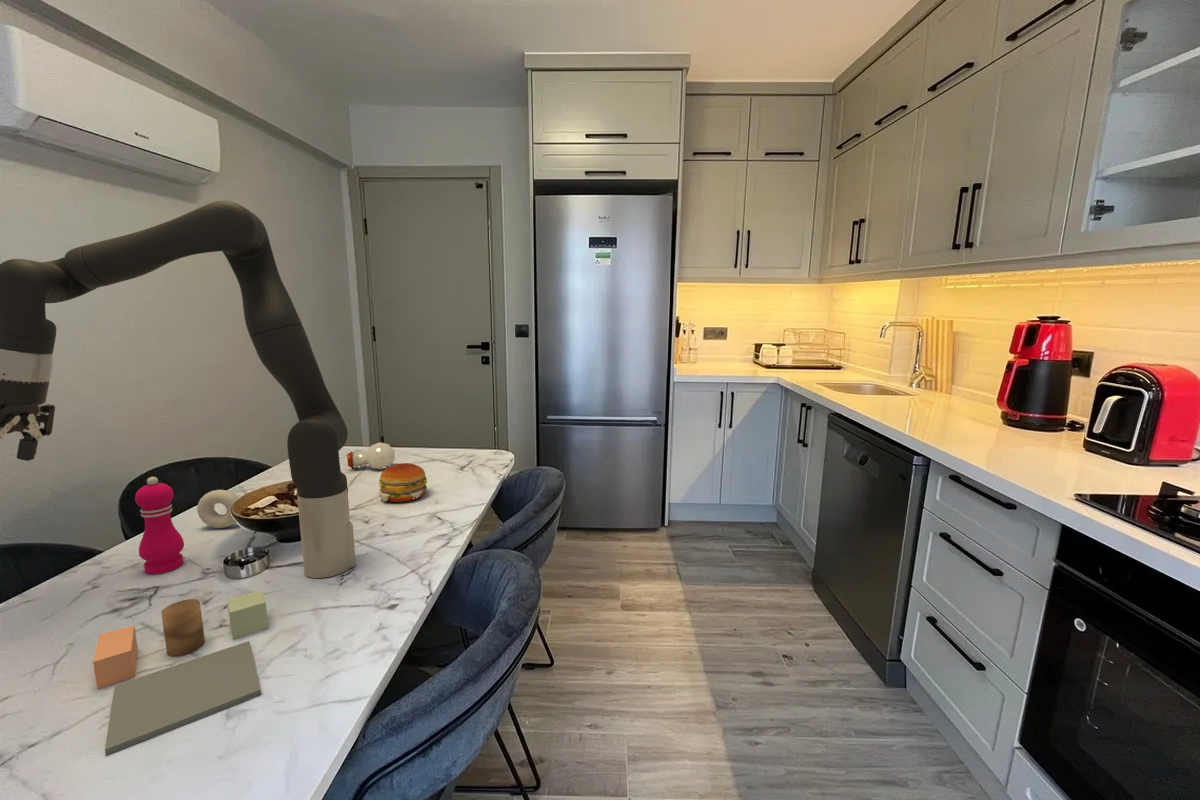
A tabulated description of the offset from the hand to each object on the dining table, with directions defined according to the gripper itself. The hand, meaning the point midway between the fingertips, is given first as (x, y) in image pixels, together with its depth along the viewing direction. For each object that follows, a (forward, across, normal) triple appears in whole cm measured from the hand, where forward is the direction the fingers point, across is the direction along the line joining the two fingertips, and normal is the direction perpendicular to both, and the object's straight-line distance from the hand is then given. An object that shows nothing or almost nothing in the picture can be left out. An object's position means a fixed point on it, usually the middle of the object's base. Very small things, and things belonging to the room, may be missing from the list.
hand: (1, 464), depth 88 cm
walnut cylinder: (+18, -15, -41) cm, 48 cm away
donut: (+20, +35, -21) cm, 45 cm away
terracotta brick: (+20, -19, -35) cm, 45 cm away
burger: (+9, +51, -60) cm, 79 cm away
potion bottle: (+12, +81, -43) cm, 92 cm away
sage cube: (+16, -11, -48) cm, 52 cm away
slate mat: (+17, -26, -48) cm, 57 cm away
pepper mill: (+22, +14, -21) cm, 33 cm away
